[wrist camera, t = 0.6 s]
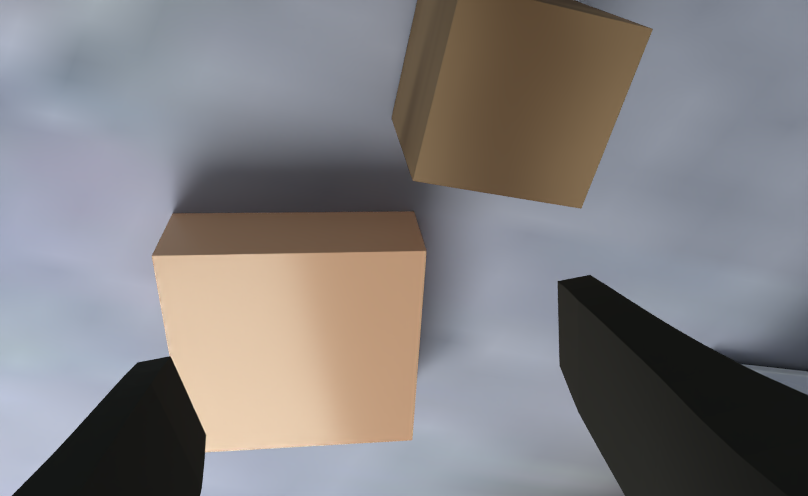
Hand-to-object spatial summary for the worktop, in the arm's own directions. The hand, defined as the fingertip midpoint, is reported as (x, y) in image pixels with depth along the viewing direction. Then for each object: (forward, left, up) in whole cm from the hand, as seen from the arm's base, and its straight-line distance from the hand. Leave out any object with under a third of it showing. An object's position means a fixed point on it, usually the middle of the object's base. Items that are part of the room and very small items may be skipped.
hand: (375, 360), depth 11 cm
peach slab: (+1, +6, -10) cm, 12 cm away
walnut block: (-3, -4, -10) cm, 11 cm away
